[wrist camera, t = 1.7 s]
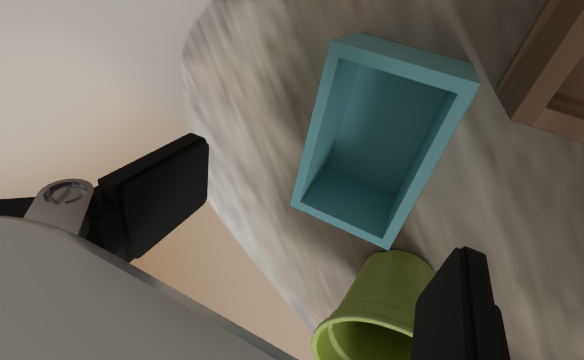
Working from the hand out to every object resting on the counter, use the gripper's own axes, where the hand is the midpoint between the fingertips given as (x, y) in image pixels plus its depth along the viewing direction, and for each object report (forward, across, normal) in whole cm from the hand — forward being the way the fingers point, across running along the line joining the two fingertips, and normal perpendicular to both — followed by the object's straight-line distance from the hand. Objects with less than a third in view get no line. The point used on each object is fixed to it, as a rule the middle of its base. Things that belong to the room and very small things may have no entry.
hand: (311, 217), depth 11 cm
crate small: (+12, -1, 0) cm, 12 cm away
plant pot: (+12, -7, +12) cm, 18 cm away
